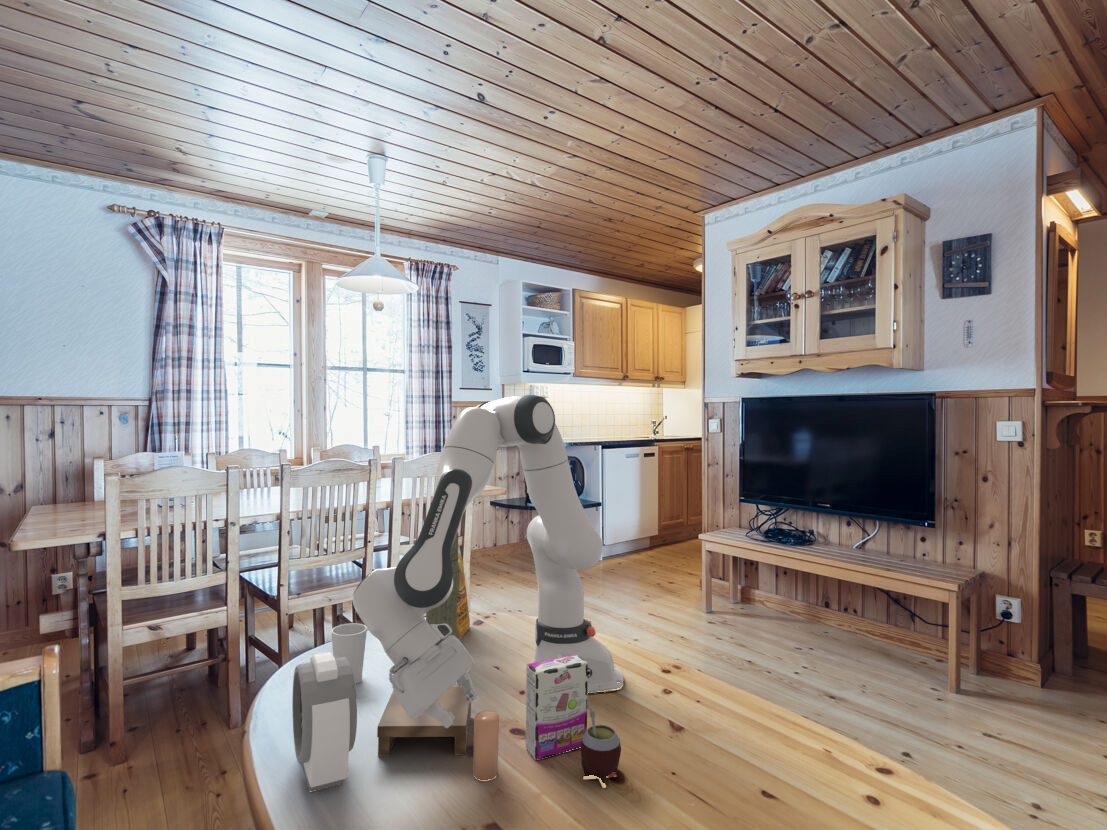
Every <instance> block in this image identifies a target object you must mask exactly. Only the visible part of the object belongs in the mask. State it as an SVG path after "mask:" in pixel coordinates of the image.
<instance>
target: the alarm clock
mask: <svg viewBox="0 0 1107 830" xmlns="http://www.w3.org/2000/svg"><path fill="white" fill-rule="evenodd" d="M309 660H310V661H309V662H305V663H300V664H297V665H296V666H295V668H294V671H293V672H294V673H293V680H292V681H293V682H292V701H291V702H292V706H291V708H292V730H293V731H292V732H293V734H292V735H293V744H294V752H295V757H296V761H297V762H298V763H299V764H301V765H302V767H303V771H304V774H305V779H307V780H306V783H308V784H307V788H308V787H309V788H308V791H314V790H318V791H320V790H319V789H321V790H324V789H323V788H325V789H327V788H326V787H329V788H332V787H331V786H333V787H336V786H340V785H343V780H345V779H348V775H349V774H348V773H349V761H350V760H349V758H350V757H349V756H350V752H352V750H353V749H354V746H355V742H356V738H357V727H358V724H357V723H358V708H357V707H358V705H357V691H356V684H355V682H354V675H353V671H352V667H351V664H350V662H349V660H348V659H347V657H340V658H334V656H333V652H331V651H328V652H320V653H316V654H311V656H310V658H309ZM339 784H340V785H339ZM335 785H336V786H335ZM314 792H315V791H314Z"/></svg>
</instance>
